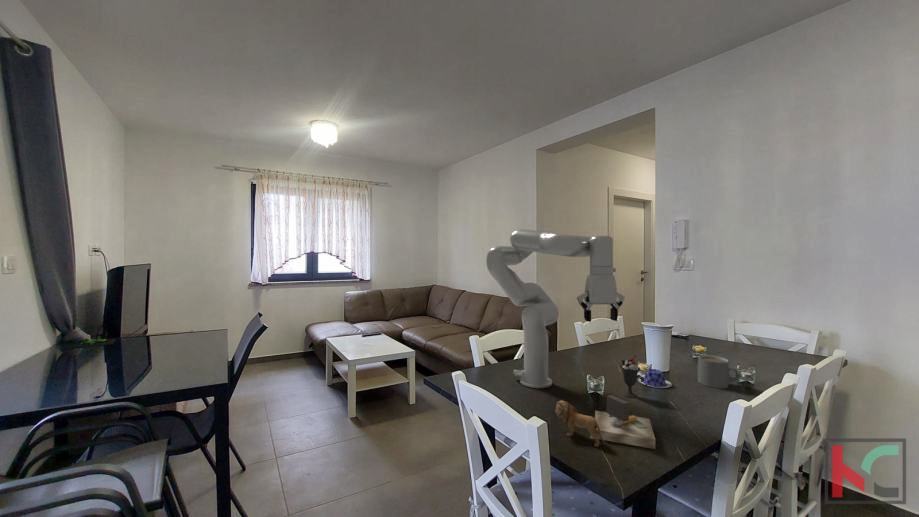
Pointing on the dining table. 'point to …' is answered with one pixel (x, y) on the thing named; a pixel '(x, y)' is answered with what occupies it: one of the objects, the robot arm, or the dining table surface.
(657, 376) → the plate of grapes
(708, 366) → the coffee mug
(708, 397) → the dining table surface
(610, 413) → the latch
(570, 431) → the lion figurine
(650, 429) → the dial board
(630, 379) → the sundae
